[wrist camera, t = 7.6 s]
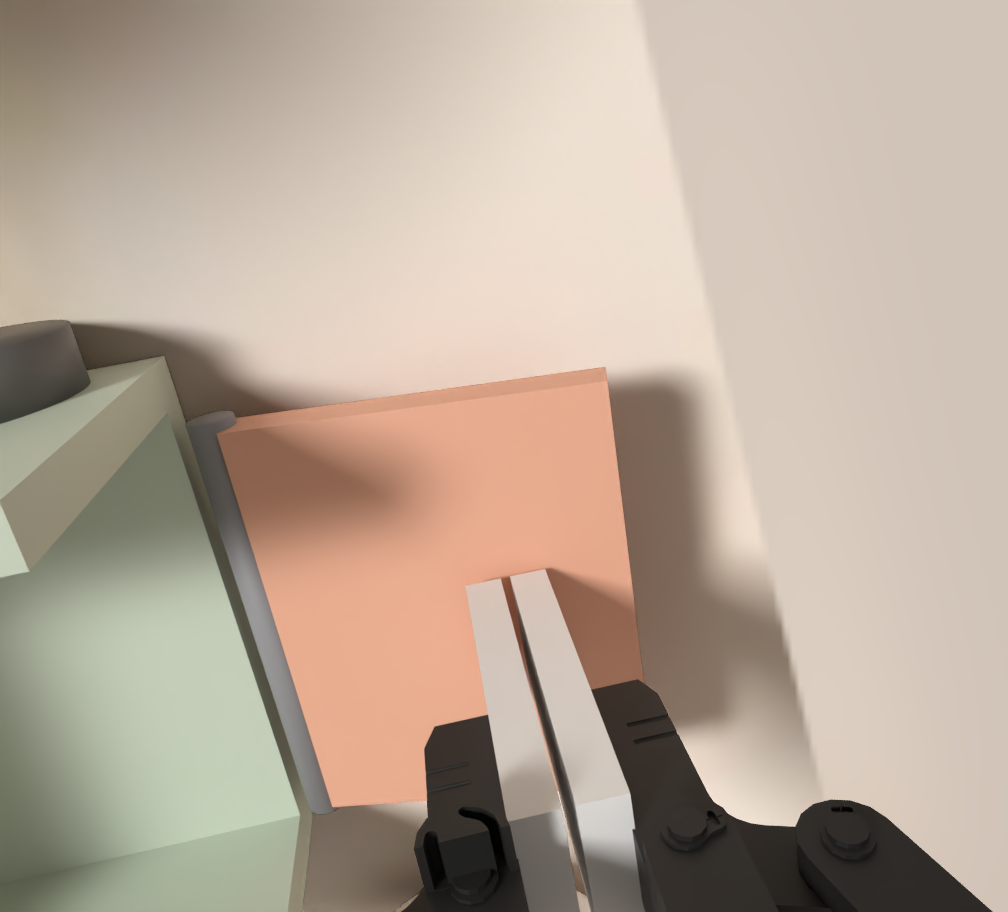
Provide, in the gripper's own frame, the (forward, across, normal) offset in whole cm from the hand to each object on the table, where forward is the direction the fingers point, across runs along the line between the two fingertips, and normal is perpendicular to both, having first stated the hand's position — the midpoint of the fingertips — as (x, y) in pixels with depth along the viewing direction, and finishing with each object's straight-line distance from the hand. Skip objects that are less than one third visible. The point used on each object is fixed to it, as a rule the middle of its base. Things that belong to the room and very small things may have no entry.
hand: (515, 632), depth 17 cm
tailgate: (+2, -5, 0) cm, 6 cm away
